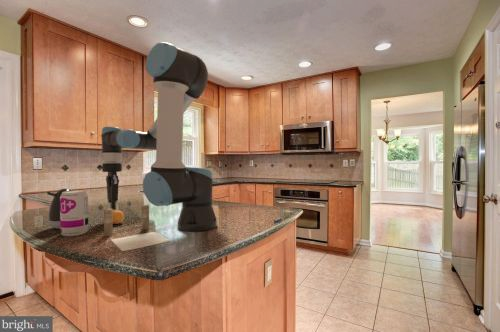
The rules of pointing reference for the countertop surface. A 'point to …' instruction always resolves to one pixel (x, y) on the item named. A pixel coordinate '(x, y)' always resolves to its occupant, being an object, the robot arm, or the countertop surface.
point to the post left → (108, 222)
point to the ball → (117, 216)
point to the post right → (145, 217)
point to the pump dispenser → (55, 208)
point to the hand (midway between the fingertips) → (112, 216)
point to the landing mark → (138, 241)
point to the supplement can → (73, 213)
